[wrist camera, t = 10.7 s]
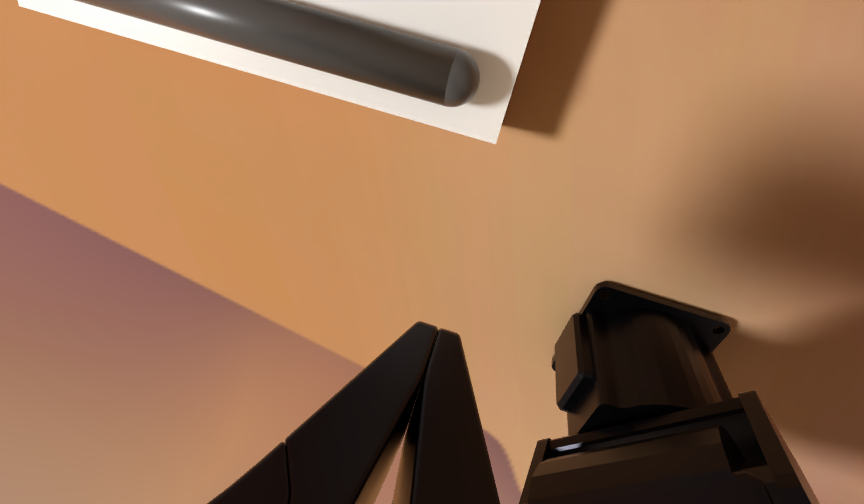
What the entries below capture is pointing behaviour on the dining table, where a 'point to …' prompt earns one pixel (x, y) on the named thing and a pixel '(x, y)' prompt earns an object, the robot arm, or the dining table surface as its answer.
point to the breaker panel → (405, 16)
